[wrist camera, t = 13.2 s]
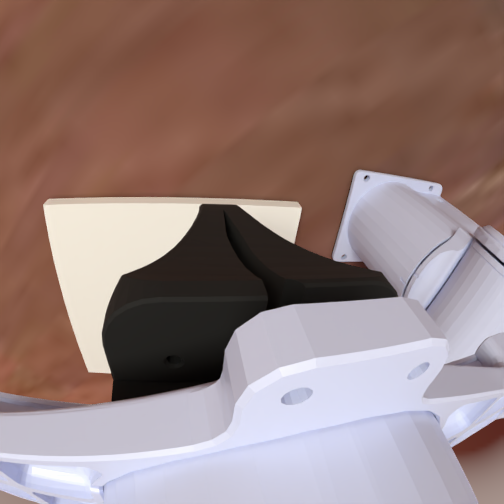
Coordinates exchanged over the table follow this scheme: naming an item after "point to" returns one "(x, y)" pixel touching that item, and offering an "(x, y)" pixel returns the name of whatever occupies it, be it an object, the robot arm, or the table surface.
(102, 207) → the tile
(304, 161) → the table surface
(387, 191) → the robot arm
